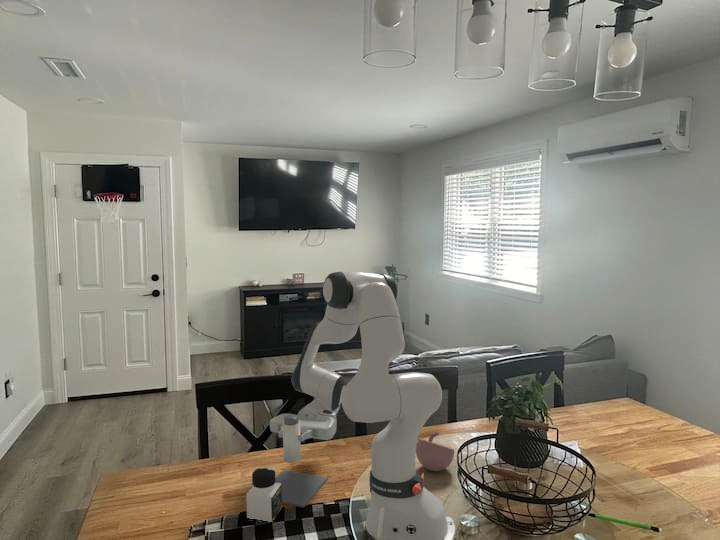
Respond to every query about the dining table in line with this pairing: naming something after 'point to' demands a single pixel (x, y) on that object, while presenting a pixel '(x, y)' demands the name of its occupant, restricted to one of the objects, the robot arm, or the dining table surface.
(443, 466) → the mortar and pestle
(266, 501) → the medicine bottle
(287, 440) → the white pill bottle
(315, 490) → the slate mat
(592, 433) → the dining table surface
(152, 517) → the dining table surface
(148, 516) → the dining table surface
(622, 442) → the dining table surface
